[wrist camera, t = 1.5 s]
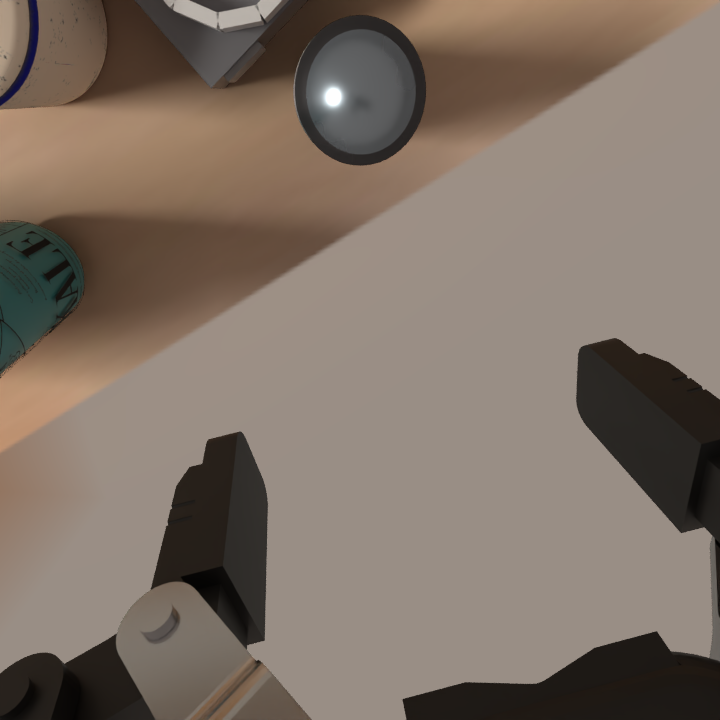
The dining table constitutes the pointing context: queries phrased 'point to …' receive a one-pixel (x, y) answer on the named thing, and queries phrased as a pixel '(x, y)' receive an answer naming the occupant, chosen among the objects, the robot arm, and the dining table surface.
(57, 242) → the beverage bottle
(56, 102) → the teacup with lid
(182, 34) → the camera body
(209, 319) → the dining table surface
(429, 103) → the dining table surface
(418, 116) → the lens
